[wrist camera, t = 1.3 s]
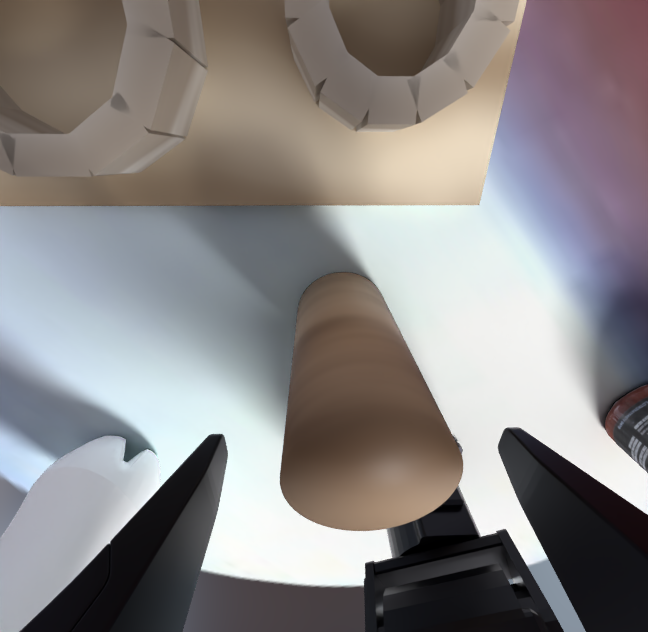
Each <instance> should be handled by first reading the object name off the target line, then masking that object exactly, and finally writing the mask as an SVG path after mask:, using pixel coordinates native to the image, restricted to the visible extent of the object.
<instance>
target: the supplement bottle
mask: <svg viewBox="0 0 648 632" xmlns="http://www.w3.org/2000/svg"><path fill="white" fill-rule="evenodd" d="M605 429H606V432H607V433H608V435H609V436H610V437H611V438H612V439H613V440H614V441H615V442H616V444H617V445H618V446H619V447H621V448H622V449H623V450H624V451H625V452H626V453H627V454H628V455H629V456H630V457H631V458H632V459H633V460H634V461H636V462H637V463H638V464H639V465H640V466H641V467H642V468H643V469H644V470H645V471H646V472H647V473H648V384H647V385H644V386H641V387H639V388H637V389H635V390H633V391H631V392H629V393H628V394H626V395H625V396H623V397H622V398H620V399H619V400H618V401H616V402H615V404H614V405H613V406H612V408H611V410H610V411H609V412H608V415H607V417H606V421H605Z"/></svg>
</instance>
